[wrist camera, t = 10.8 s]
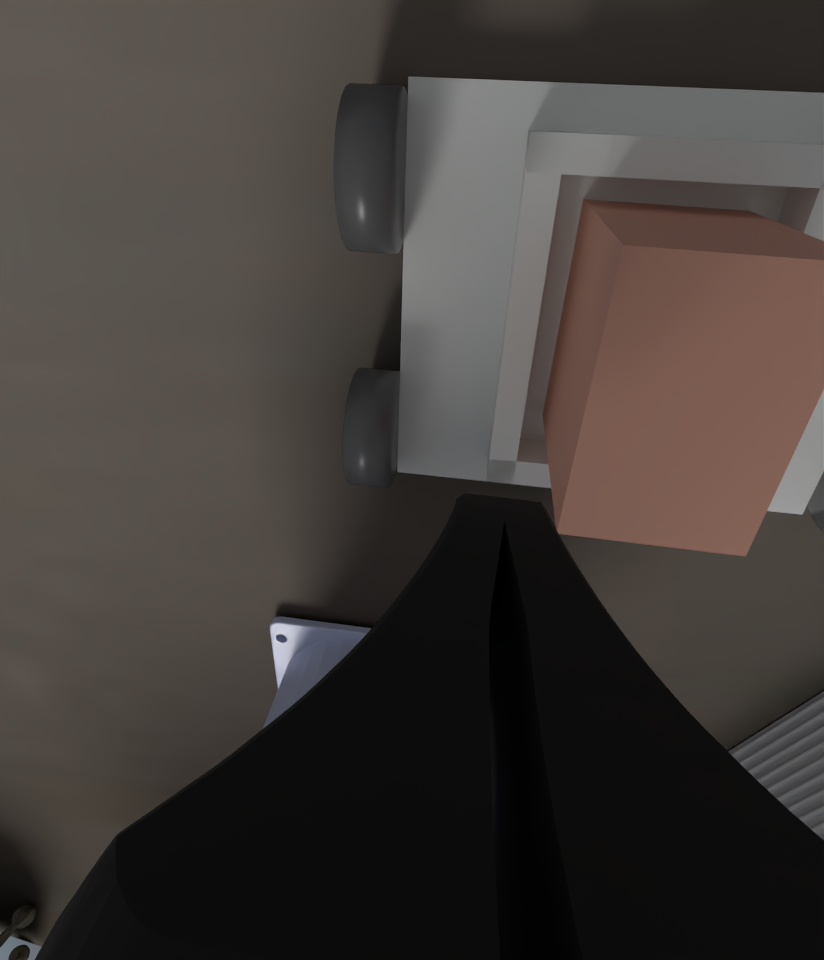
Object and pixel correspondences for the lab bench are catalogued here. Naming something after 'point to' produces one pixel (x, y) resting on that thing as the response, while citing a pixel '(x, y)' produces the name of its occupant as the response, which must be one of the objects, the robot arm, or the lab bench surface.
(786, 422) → the terracotta rectangular block
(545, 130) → the chassis
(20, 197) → the lab bench surface
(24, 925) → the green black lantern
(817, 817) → the aluminum extrusion profile
